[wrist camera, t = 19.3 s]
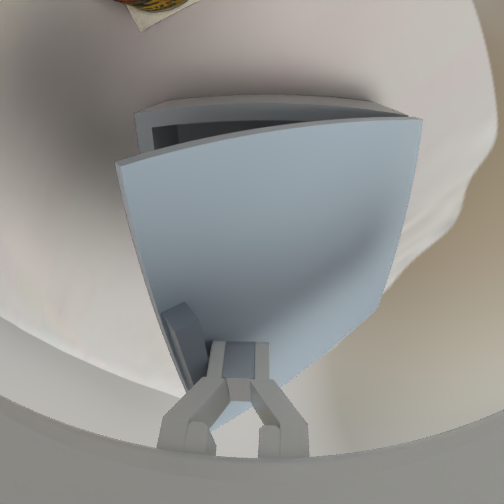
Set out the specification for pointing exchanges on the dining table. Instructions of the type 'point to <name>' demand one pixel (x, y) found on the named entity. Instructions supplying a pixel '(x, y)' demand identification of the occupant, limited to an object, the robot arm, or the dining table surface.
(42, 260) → the dining table surface
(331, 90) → the dining table surface
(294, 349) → the lid
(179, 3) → the condiment
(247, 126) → the housing
